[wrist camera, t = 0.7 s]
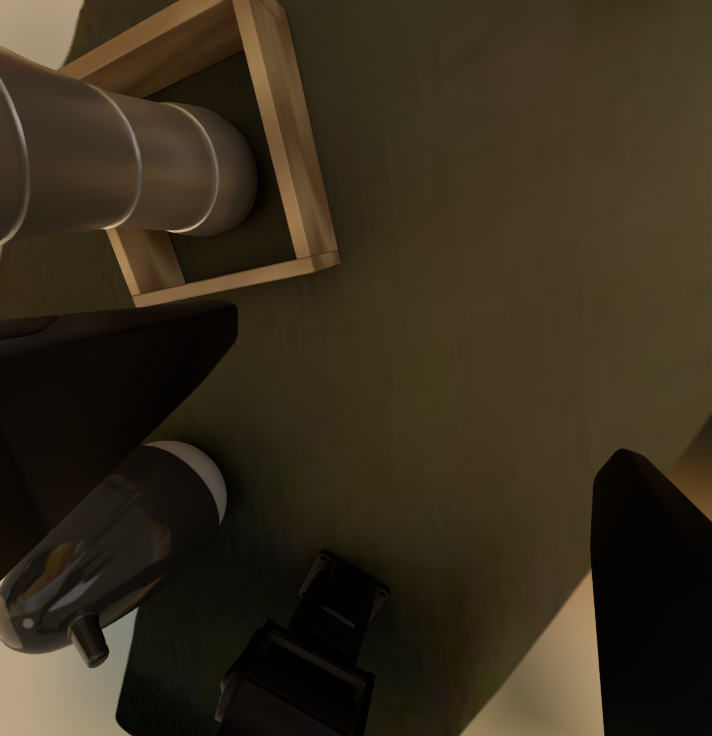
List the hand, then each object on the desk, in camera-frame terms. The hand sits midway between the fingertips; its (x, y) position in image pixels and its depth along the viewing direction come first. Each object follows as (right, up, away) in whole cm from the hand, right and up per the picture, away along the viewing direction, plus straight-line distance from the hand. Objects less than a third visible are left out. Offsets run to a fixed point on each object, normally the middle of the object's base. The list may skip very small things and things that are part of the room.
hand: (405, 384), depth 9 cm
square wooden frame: (-9, +12, +15) cm, 21 cm away
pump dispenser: (-15, -9, +25) cm, 31 cm away
